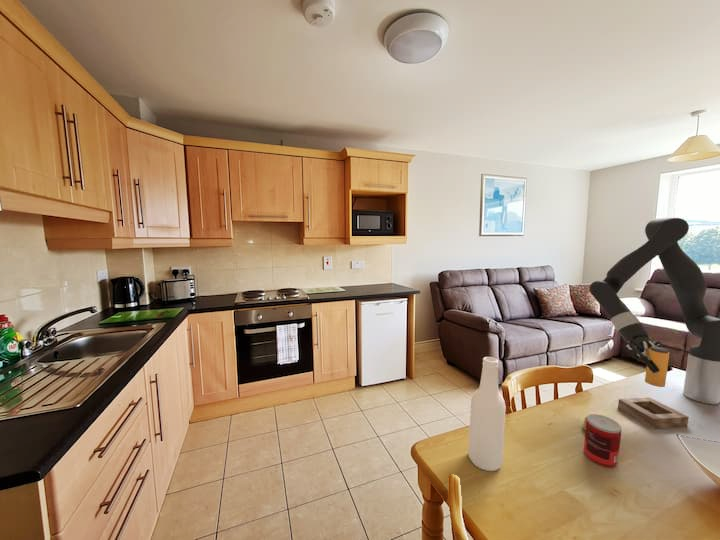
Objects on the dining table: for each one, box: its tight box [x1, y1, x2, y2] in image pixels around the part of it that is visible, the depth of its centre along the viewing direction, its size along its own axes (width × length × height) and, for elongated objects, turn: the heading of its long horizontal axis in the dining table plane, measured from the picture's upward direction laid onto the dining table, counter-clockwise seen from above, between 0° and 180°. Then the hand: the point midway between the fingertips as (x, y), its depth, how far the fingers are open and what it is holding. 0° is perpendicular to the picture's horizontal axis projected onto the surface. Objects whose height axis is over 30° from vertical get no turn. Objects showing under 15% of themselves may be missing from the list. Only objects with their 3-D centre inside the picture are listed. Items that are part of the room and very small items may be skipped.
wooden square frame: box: [617, 397, 689, 430], centre depth 103 cm, size 13×12×4 cm
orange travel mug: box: [644, 346, 670, 388], centre depth 101 cm, size 5×5×13 cm
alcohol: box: [467, 356, 507, 472], centre depth 81 cm, size 9×9×30 cm
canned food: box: [583, 413, 622, 468], centre depth 83 cm, size 8×8×11 cm
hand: (663, 371), depth 100 cm, fingers closed on orange travel mug, 5 cm apart
